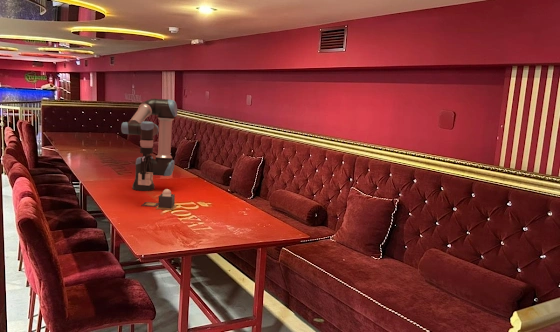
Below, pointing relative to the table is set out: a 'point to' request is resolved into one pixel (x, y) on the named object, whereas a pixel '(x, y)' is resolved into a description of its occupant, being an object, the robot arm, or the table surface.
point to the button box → (166, 202)
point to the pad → (150, 204)
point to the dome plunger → (167, 193)
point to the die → (148, 178)
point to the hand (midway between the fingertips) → (145, 183)
